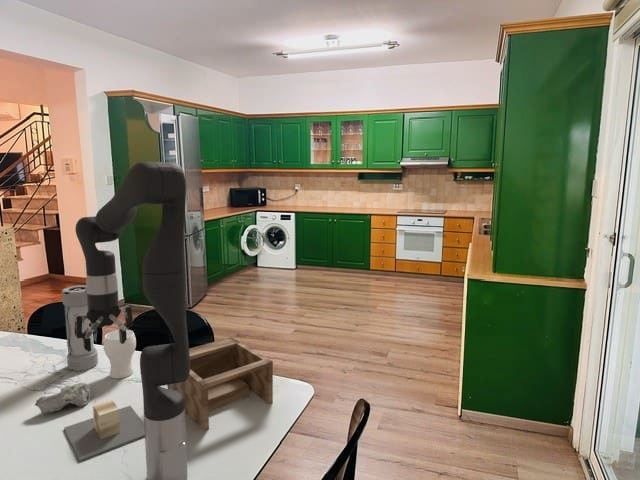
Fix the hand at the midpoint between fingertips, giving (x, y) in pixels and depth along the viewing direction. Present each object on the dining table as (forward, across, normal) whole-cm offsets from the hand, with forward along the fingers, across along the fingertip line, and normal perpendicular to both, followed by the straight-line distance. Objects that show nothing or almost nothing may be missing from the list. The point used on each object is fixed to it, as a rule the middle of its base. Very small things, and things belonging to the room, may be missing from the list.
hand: (106, 346), depth 117 cm
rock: (+25, -6, +22) cm, 34 cm away
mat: (+25, -1, 0) cm, 25 cm away
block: (+24, -1, 0) cm, 25 cm away
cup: (+25, +13, +34) cm, 44 cm away
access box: (+25, +32, -4) cm, 41 cm away
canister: (+25, +4, +50) cm, 56 cm away
